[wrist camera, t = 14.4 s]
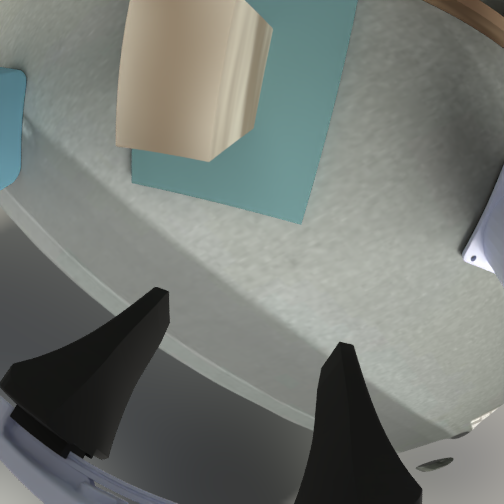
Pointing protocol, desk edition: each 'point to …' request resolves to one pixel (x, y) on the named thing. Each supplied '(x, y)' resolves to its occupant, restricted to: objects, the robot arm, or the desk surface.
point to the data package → (11, 123)
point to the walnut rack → (475, 16)
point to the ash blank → (190, 75)
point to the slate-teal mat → (272, 118)
